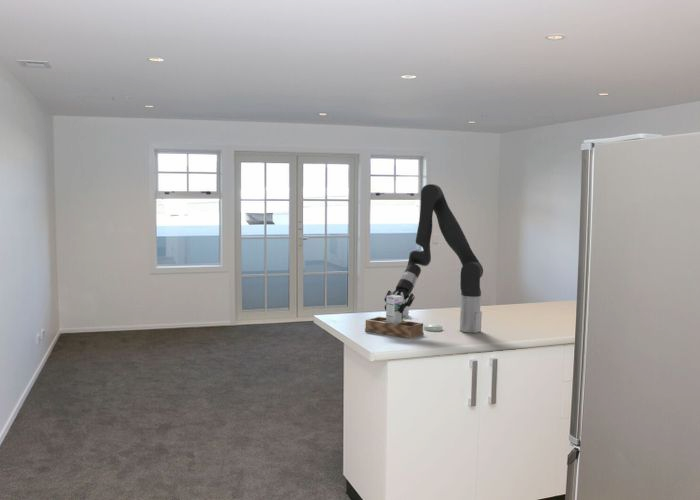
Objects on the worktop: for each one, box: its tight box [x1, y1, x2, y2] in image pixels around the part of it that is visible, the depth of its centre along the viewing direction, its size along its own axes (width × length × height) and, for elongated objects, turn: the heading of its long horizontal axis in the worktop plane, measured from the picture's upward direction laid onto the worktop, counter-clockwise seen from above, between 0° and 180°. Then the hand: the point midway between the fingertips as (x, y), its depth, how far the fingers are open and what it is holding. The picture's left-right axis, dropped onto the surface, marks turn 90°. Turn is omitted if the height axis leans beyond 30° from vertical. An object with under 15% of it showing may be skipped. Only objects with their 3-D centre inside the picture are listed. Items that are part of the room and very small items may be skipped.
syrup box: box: [385, 295, 404, 324], centre depth 314 cm, size 6×6×14 cm
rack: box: [364, 316, 424, 339], centre depth 314 cm, size 24×13×5 cm, turn 54°
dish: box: [423, 323, 444, 332], centre depth 324 cm, size 9×9×2 cm
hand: (393, 310), depth 312 cm, fingers closed on syrup box, 7 cm apart
